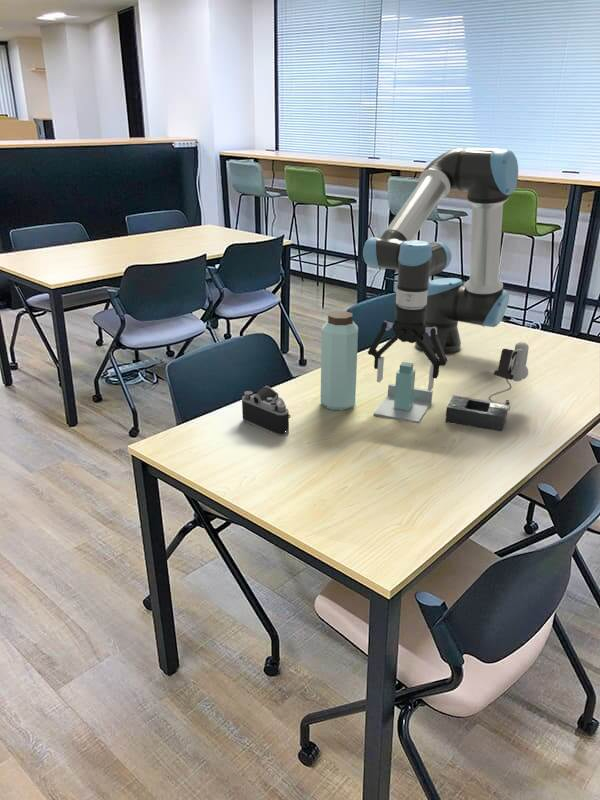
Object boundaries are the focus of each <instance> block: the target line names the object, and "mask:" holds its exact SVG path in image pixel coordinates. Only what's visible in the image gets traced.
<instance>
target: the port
mask: <svg viewBox="0 0 600 800" xmlns="http://www.w3.org/2000/svg"><path fill="white" fill-rule="evenodd" d="M511 408H512V406H511V405H510V404H506V403H502V402H498V403H497V401H495V402H491V401H490V400H484V399H477V398H473V397H472V398H471V397H465V396H459V395H452V397H451V399H450V400H449V402H448V404H447V405H446V411H445V412H446V413H445V420H444V422H445V423H447V424H453V425H459V426H466V427H471V428H476V429H477V428H478V429H485V430H490V431H496V432H503V431H504V427H505V425H506V421H507V418H508V412H510V411H511Z"/></svg>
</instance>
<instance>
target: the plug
mask: <svg viewBox="0 0 600 800" xmlns="http://www.w3.org/2000/svg"><path fill="white" fill-rule="evenodd" d="M415 381H416V369H414V363H412V362H405V361H402V362H401V363H400V364H399V368H398V370H397V371H396V375H395V384H396V386H395V400H394V408H396V409H402V410H407V411H409V410H410V408H411V407H412V405H413V395H414V387H415Z"/></svg>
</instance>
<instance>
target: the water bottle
mask: <svg viewBox="0 0 600 800" xmlns="http://www.w3.org/2000/svg"><path fill="white" fill-rule="evenodd" d="M353 314H354V313H353V312H349V311H346V310H336V311H334V310H333V311H331V312H328V315H327V321H326V322H325V323H324V324H322V327H321V338H320V339H321V342H320V343H321V347H320V348H321V352H320V403H321V405H322V406H324V407H325V408H327V409H329V410H331V411H345V410H347V409H351V408H352V407H353V406H354V405H355V404H356V396H357V395H356V392H357V391H356V388H357V369H358V368H357V366H358V365H357V364H358V347H359V346H358V343H359V341H358V339H359V326H358V325H357V324H356V323H355V321H354V320H353V319H354V317H353Z"/></svg>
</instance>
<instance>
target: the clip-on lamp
mask: <svg viewBox="0 0 600 800" xmlns="http://www.w3.org/2000/svg"><path fill="white" fill-rule="evenodd" d="M529 348H530V346H529V344H528V343H526V342H525V341H519V342H517V343H516V344H514V349H509V348H502V349H501V354H500V357H499V362H498V368H497V369H496V370H494V371H493V376H496V377H499V378H501V379H505V380H506V382H507V385H509V387H508V388H507V389H504V390H499V391H498V392H494V393H492V394H490V395H489V396H488V401H491V402H497V401H494V400H492V399H491V398H492V397H493V396H496V395H498V394H502V393H505V392H508V391H510V390H511V389H513V387H512V385H511V383H510V381H509V380H511V381H512V380H513V381H514V382H521V381H522V380H525V379H527V377H528V375H529V368H528V366H527V363H528V362H527V361H528V353H529ZM497 403H499V402H497ZM505 404H509V405H510V400H509V399H506V400H505Z"/></svg>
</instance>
